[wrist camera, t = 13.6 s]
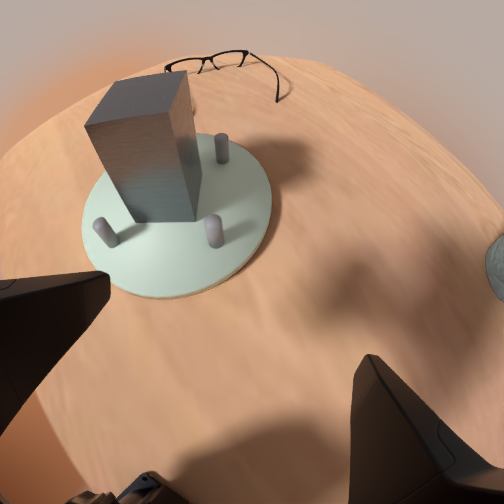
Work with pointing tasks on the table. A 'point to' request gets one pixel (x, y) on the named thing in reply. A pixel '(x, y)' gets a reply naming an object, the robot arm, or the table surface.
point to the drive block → (150, 146)
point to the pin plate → (183, 228)
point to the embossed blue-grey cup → (496, 267)
